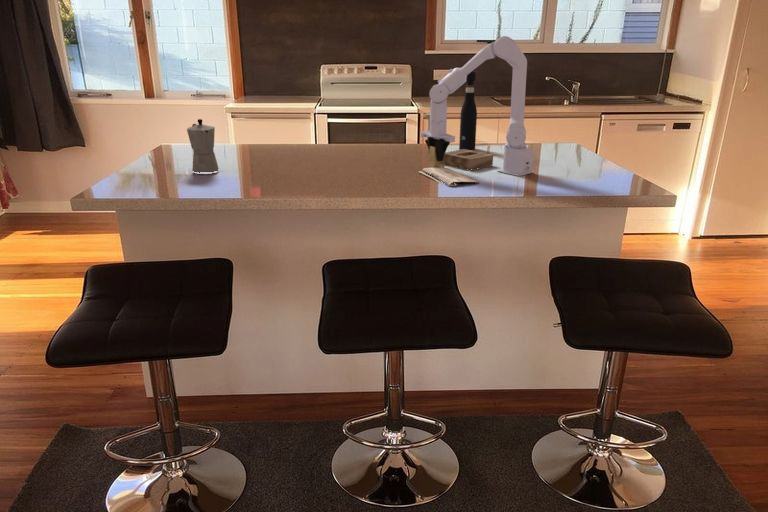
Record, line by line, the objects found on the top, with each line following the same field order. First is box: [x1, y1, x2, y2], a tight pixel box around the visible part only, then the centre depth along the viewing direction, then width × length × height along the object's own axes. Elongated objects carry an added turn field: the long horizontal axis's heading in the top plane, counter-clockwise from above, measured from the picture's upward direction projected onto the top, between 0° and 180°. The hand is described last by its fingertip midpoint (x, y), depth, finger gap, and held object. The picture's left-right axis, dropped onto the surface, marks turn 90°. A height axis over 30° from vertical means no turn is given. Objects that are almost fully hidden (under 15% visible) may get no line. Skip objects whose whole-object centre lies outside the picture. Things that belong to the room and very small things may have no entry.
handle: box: [424, 112, 430, 154], centre depth 231 cm, size 5×6×15 cm
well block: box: [444, 149, 494, 171], centre depth 212 cm, size 14×12×4 cm
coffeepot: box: [186, 118, 220, 173], centre depth 201 cm, size 15×9×18 cm, turn 33°
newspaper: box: [418, 167, 479, 187], centre depth 194 cm, size 23×12×2 cm, turn 19°
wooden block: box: [428, 145, 446, 168], centre depth 206 cm, size 2×5×8 cm, turn 130°
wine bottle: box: [458, 71, 478, 151], centre depth 235 cm, size 6×6×30 cm
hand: (437, 160), depth 206 cm, fingers closed on wooden block, 2 cm apart
